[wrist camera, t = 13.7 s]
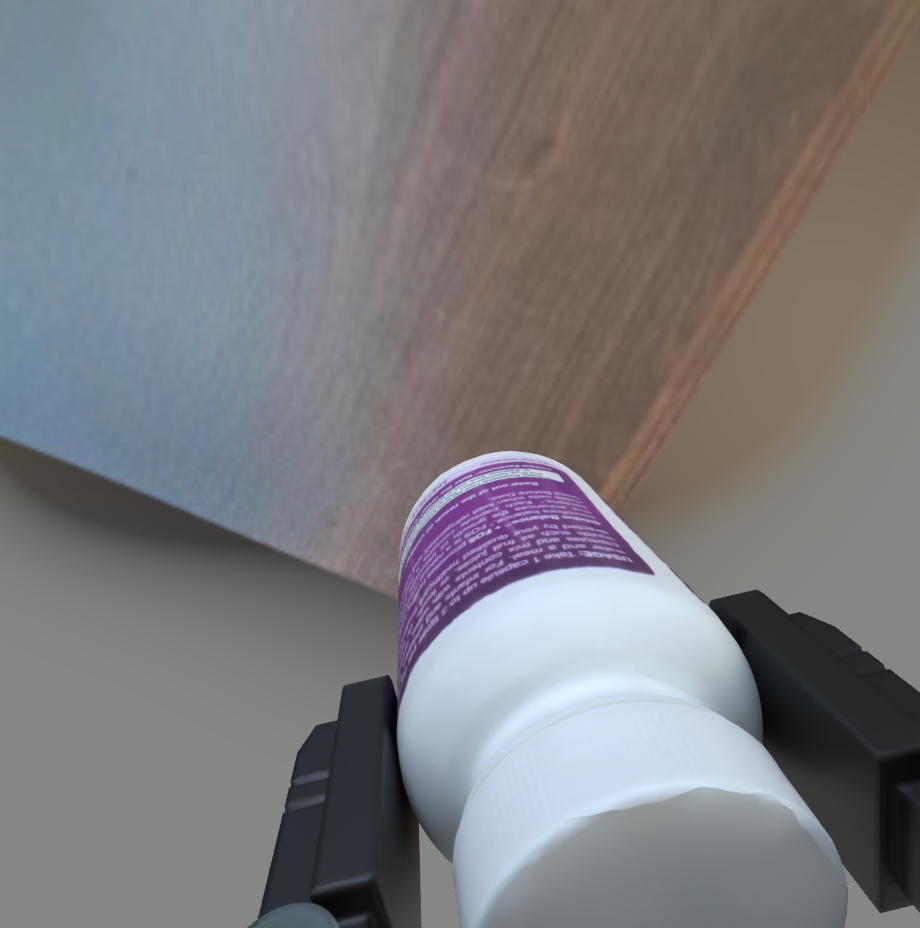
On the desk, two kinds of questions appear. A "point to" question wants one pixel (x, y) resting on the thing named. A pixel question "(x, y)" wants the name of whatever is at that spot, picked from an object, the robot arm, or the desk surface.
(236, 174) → the desk surface
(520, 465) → the pill bottle
